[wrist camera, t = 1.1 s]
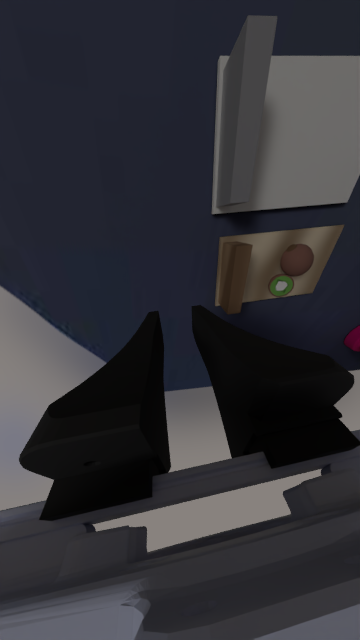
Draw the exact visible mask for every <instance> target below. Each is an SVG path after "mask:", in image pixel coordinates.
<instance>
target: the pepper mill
mask: <svg viewBox="0 0 360 640" xmlns="http://www.w3.org/2000/svg"><path fill="white" fill-rule="evenodd" d="M344 344H345V345H346V346H348V347H349V348H351V349H352V350H354V351H360V325H359V326H358V327H356V328H354V329H353V330H352V331H351V332H350V333H349V334H348V335H347V336H346V338H345V339H344Z"/></svg>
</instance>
